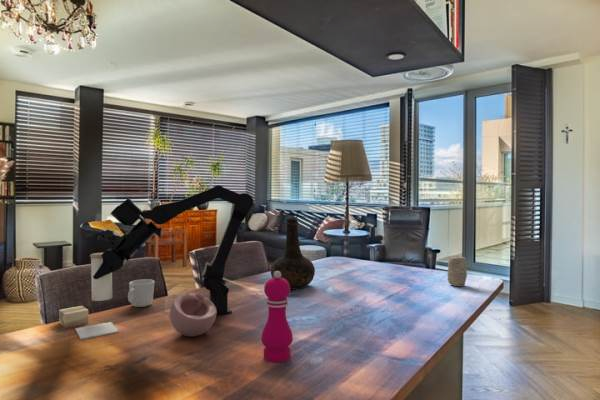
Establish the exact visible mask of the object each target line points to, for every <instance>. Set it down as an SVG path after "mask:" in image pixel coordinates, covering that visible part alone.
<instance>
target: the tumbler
mask: <svg viewBox="0 0 600 400" xmlns="http://www.w3.org/2000/svg"><path fill="white" fill-rule="evenodd" d="M104 252H105V251H104ZM104 252H95V253H91V254H90V255H89V257H90V263H91V265H90V269H91V270H90V274H91V275H90V276H91V301H95V302H100V301H108V300H111V299H113V272H112V273H109V274H107V275H105V276H103V277H100V278H98V279H94V278H93V276H94V275H95V273H96V272H97V270H98V269H99V267H100V266H101V264H102V263H103V258H102V256H101V255H102V254H103V253H104Z"/></svg>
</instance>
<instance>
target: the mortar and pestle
mask: <svg viewBox="0 0 600 400" xmlns="http://www.w3.org/2000/svg"><path fill="white" fill-rule="evenodd" d="M216 314H217V310H216V307H215V305H214V304H213V303H212V301H210V300H209V298H208V297H206V296H205V295H204V294H200V292H197V293H189V292H185V293H183V294H180V295H178V296H176V297H175V299H174V300H173V302H172V303H171V306H170V310H169V320H170V323H171V325H172V327H173V329H174V330H175V331H176V332H177V333H179V334H181V335H183V336H185V337H197V336H201V335H202V334H204V333H206V332H207V331H208V330H210V328H212V326H213V324H214V322H215V321H216V318H217V316H216Z"/></svg>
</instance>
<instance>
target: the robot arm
mask: <svg viewBox="0 0 600 400" xmlns="http://www.w3.org/2000/svg"><path fill="white" fill-rule="evenodd" d="M216 199H221V200H223V201H225V202H228V203H230V204H231V208H230V215H229V220H228V221H227V224H226V227H225V229H224V232H223V235H222V237H221V240H220V242H219V245H218V247H217V250H216V253H215V254H214V257H213V259H212V260H211V261H210V262H208V261H206V262H205V266H204V269H203V271H201V278H202V285H203V286H204V288H205V289H206V290H208V291H209V292H208V293H209V294H208V295H209V296H208V297H209V298H208V299H209V300H210V301H212V303H213V304H214V305H215V307H216V310H217V314H216V317H217V316H221V315H226V314H231V313H232V312H233V310H231V309H229V307H228V305H229V304H228V303H229V302H228V300H229V299H228V294H229V291H230V289H229V285H228V283H227V282H226V281H225V280H224V275H225V266H226V262H227V261H228V257H229V255H230V253H231V250H232V247H233V244H234V242H235V240H236V237H237V235H238V232H239V230H240V228H241V225H242V223H243V221H244V220H245V219H246V217H247V216H248V214H249V212H250V211H251V209H252V208H253V206H254V199H253V196H251V195H250V194H248V193H247V192H246V193H245V192H241V193H238V192H237V191H233V190H231V189H229V188H226V187H223V186H222V185H219V184H218V185H217V184H216V185H214V186H212V187H211V188H209V189H206V190H204V191H200V192H198V193H196V194H193V195H190V196H189V197H186V198H183V199H181V200H177V201H173V202H167V203H162V204H159V205H155V206H154V207H152V209H144V210H141V209H140V208H139V207H138V206H137V205H136V204H135V203H134V201H133V200H132V199H131V198H126V199H125V200H124V201H123V202H121V203H120V204H118V205H117V206H115V208H114V209H113V210H111V212H110V215H111V216H112V217H113V218H115V219H116V220H117V221H118V223H120V224H121V225H122V226H123V227H126V226H128V227H132V226H133V227H132V228H131V229H130V230H129V231H128V232H125V233H123V234H121V233H119V232H116V231H114V230H111V229H110V228H106V227H105V228H102V229H101V230H100V232H99V233H98V236H97V241H100V242H105V243H107V244H109V245H111V248H107V249H106V250H104V253H103V252H102V253H103V254H102V255H101V256H102V258H103V263H102V264H101V266H100V267H99V269H98V270H97V272H96V273H95V275H94V276H93V278H94V279H98V278H100V277H103V276H105V275H107V274H109V273H112V274H113V273H114V272H116V271H119V270H120V269H122V268H123V267H124V266H125V264H126V262H128V261H129V260H130V259H131V258H132V257H134V255H135V254H136V252H138V251H139V249H141V248H142V246H144V245H145V244H146V243H147V242H148V241H149V240H150V239H151V238H152V237H153V236H154V235H156V236H157V237H159V238H161V237H162V235H163V232H162V230H163V227H158V226H157V225H163V224H166V223H168V222H169V221H171V220H173V219H174V218H176V217H177V216H179V215H181V214H183V213H184V212H187V211H189V210H192V209H194V208H196V207H199V206H202V205H203V204H206V203H209V202H212V201H214V200H216ZM146 220H151V221H150V222H148V221H146ZM137 222H138V223H137ZM134 224H135V225H134Z"/></svg>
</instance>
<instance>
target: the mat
mask: <svg viewBox="0 0 600 400" xmlns="http://www.w3.org/2000/svg"><path fill="white" fill-rule="evenodd" d="M75 332H76V334H77V336H78V337H79V339H80V341H82V340H87V339H91V338H96V337H97V338H98V337H102V336H108V335H112V334H117V333H119V330H118V328H117V327H116V326H115V325H114V323H113V322H112V321H109V322H103V323H98V324H92V325H87V326H81V327H76V328H75Z"/></svg>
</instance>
